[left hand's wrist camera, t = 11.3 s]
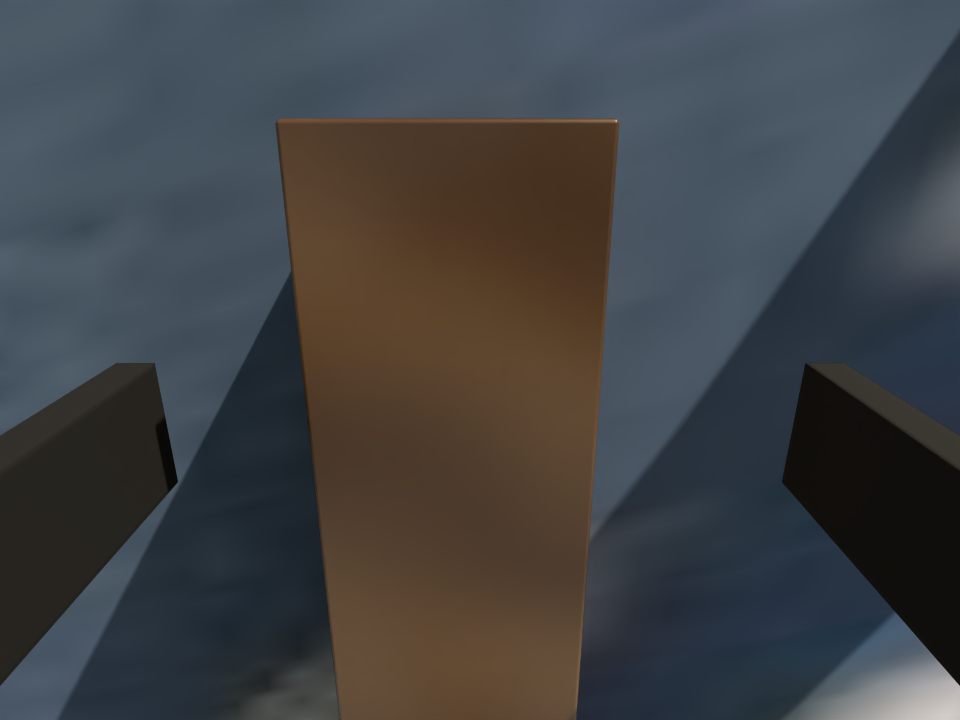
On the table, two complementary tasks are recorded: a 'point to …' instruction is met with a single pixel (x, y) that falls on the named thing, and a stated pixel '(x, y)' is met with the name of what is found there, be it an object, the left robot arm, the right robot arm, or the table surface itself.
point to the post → (452, 400)
